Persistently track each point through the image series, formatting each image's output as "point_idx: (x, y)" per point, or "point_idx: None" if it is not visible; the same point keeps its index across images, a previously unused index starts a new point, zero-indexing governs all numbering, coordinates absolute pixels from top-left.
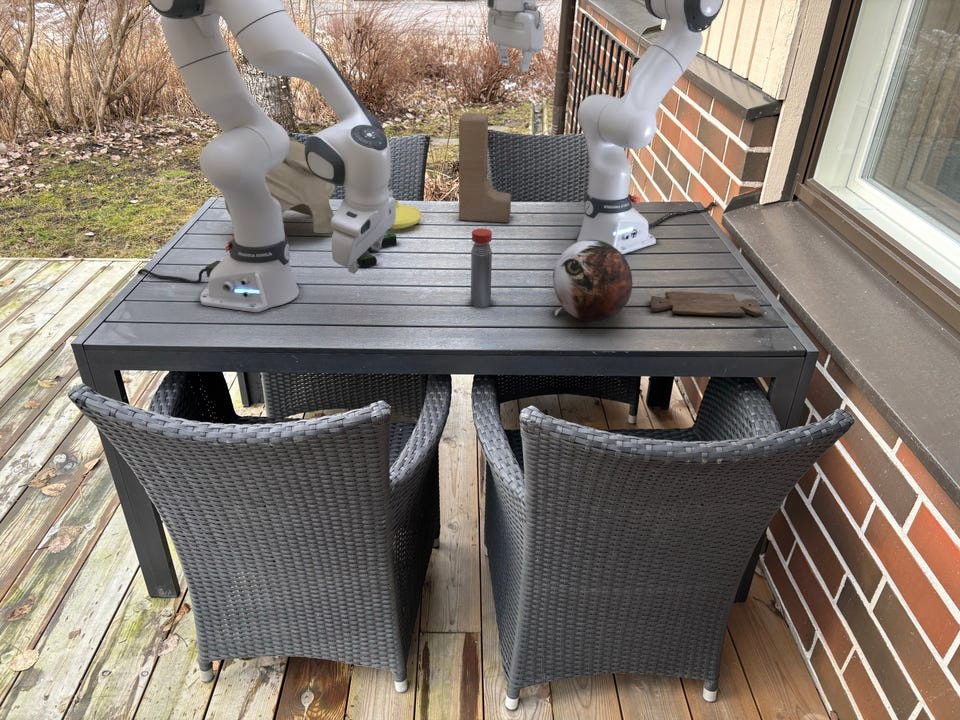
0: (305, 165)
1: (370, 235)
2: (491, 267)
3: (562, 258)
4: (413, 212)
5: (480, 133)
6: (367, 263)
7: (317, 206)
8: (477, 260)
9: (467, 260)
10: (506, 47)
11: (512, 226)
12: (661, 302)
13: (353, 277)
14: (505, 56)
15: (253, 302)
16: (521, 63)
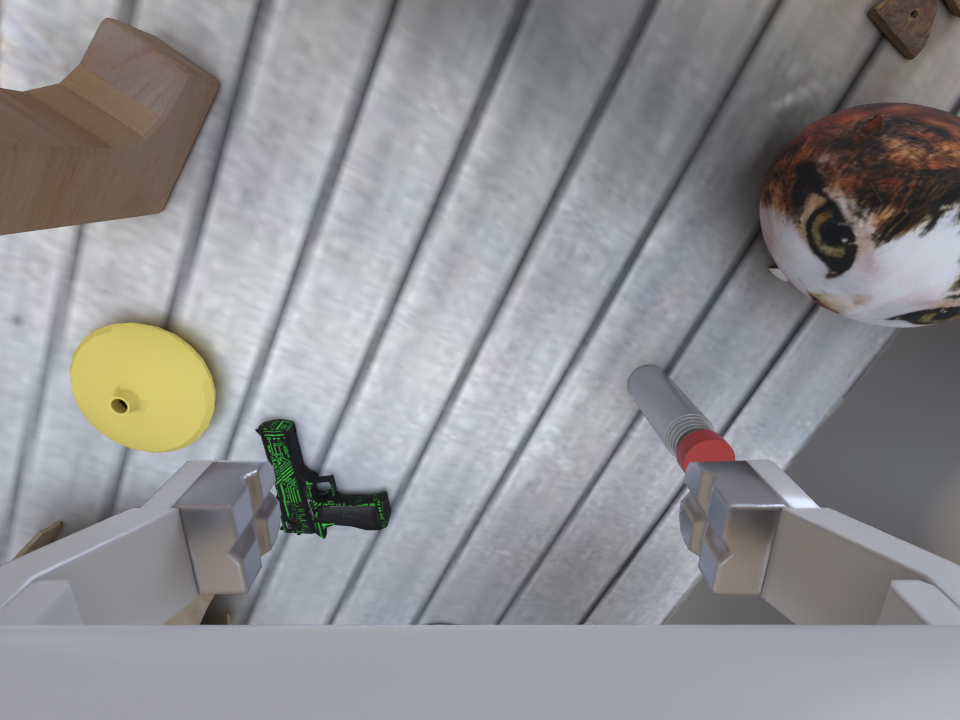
0: None
1: None
2: (689, 400)
3: (878, 307)
4: (157, 355)
5: None
6: (388, 511)
7: (189, 607)
8: None
9: (436, 314)
10: (66, 619)
11: (247, 80)
12: (915, 10)
13: (427, 539)
14: (179, 541)
15: None
16: (773, 596)
